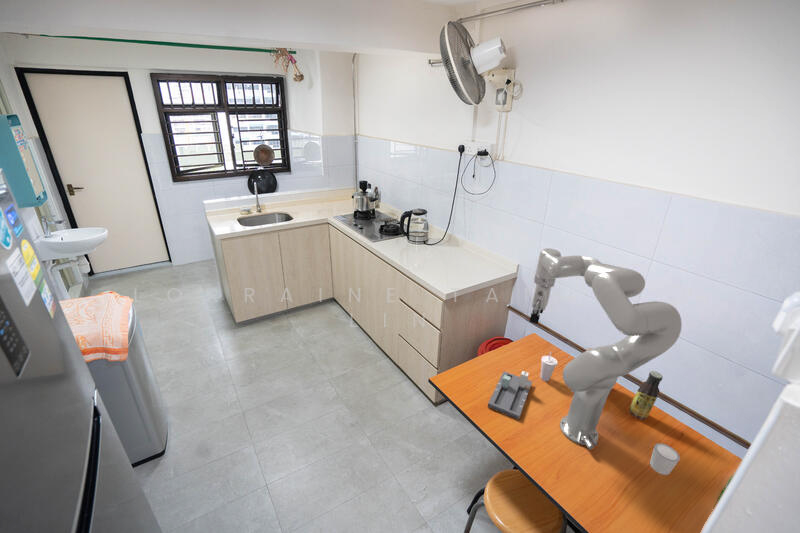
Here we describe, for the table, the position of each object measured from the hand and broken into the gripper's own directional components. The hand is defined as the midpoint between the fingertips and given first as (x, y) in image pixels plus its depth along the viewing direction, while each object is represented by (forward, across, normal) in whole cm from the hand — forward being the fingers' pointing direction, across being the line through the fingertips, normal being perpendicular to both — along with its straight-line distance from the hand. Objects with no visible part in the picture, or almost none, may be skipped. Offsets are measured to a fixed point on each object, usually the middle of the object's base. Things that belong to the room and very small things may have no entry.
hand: (536, 317), depth 148 cm
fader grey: (+27, -12, -2) cm, 30 cm away
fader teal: (+27, -16, +4) cm, 32 cm away
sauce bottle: (+28, -1, -44) cm, 52 cm away
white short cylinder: (+28, -23, -50) cm, 62 cm away
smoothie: (+28, +1, -9) cm, 30 cm away
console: (+28, -18, +1) cm, 33 cm away
